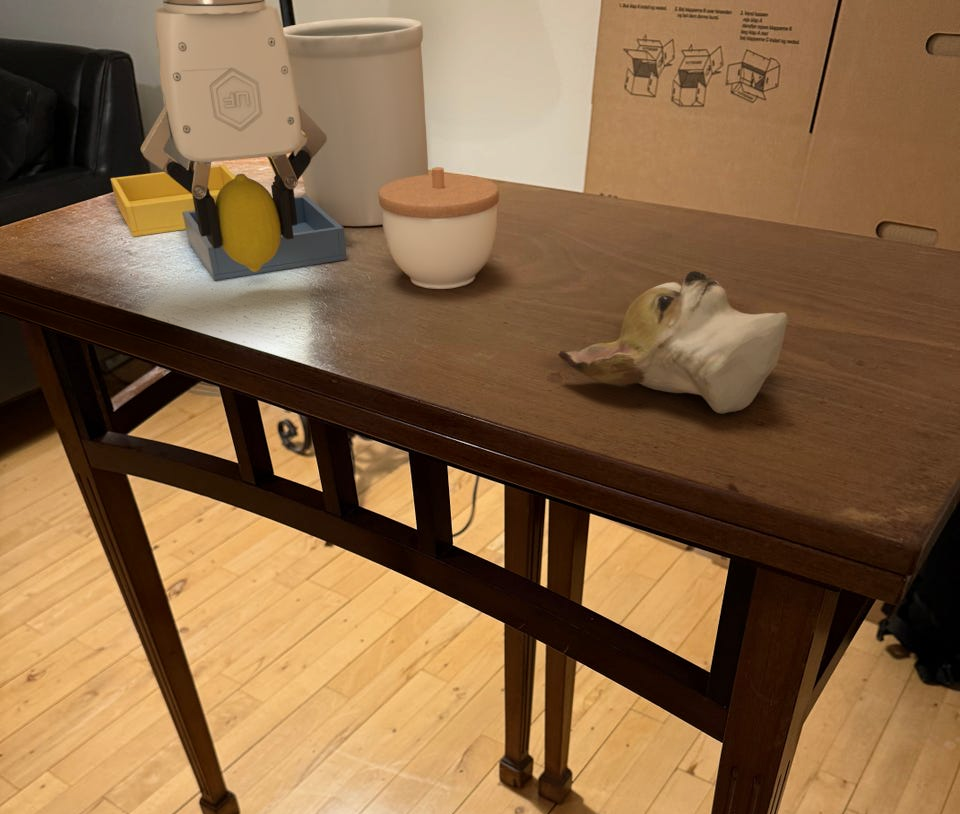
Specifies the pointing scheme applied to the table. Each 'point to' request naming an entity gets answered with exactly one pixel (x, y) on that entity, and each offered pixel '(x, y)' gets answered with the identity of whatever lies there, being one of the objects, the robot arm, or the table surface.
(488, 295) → the table surface
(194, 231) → the blue tray
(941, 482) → the table surface
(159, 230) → the yellow tray
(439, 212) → the trinket box
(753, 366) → the ceramic sculpture
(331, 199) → the utensil holder
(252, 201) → the lemon
